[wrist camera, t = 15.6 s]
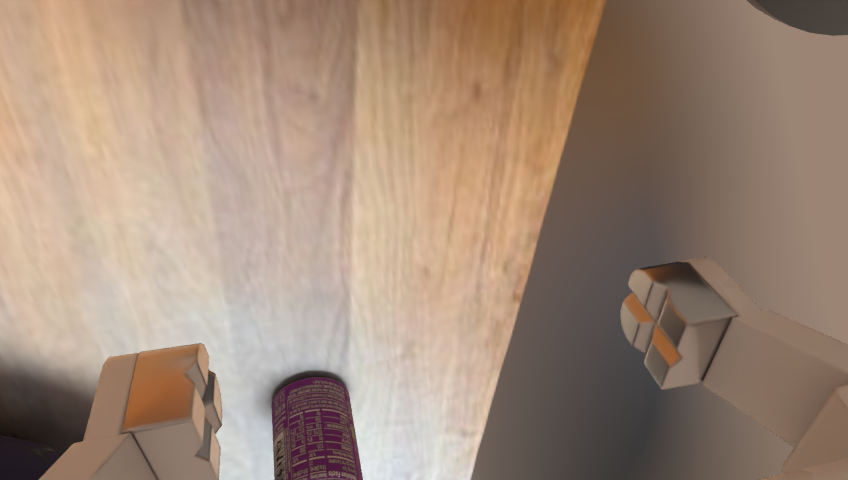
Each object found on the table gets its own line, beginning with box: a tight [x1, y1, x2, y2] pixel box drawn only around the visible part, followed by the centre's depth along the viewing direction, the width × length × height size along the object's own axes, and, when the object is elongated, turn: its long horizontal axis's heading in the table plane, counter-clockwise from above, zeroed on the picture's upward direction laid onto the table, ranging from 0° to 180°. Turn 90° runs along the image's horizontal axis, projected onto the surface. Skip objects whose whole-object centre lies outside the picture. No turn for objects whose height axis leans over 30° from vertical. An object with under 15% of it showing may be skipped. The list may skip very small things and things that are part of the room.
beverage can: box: [272, 377, 363, 480], centre depth 50 cm, size 7×7×12 cm
